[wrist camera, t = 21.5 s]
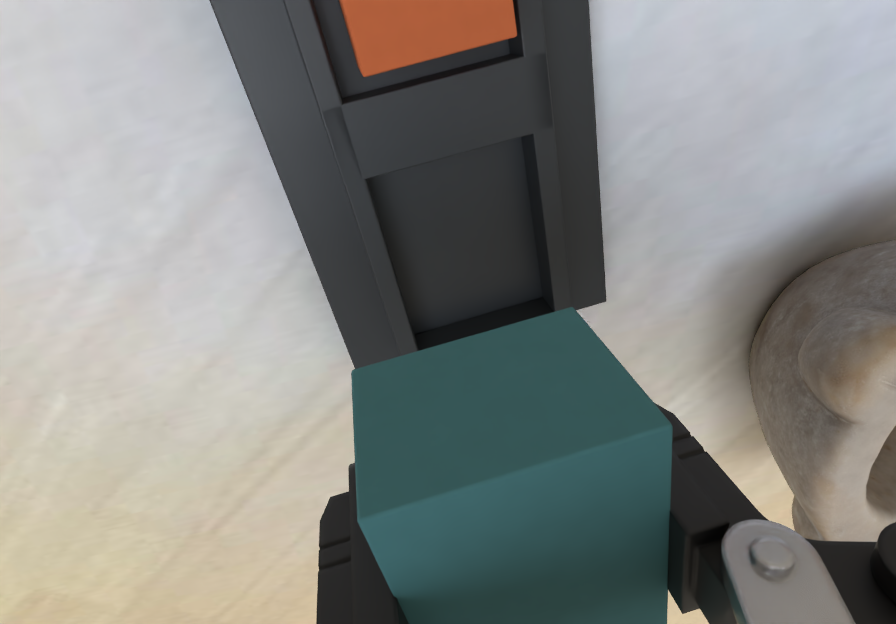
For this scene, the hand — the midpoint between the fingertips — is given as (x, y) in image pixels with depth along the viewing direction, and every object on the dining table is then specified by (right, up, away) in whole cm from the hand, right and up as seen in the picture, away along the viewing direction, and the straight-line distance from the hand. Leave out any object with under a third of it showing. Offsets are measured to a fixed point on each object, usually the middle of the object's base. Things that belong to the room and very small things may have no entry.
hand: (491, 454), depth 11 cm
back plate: (-2, +11, +8) cm, 14 cm away
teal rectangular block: (0, 0, 0) cm, 0 cm away
